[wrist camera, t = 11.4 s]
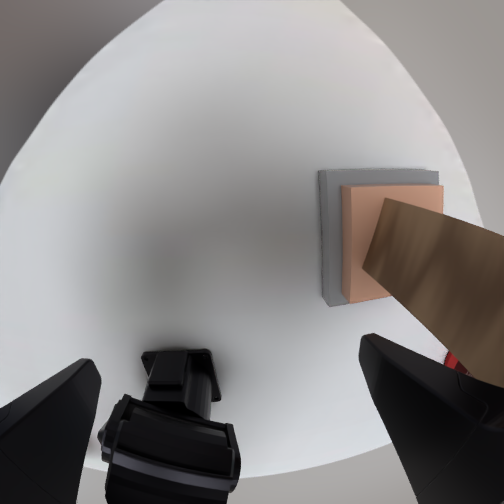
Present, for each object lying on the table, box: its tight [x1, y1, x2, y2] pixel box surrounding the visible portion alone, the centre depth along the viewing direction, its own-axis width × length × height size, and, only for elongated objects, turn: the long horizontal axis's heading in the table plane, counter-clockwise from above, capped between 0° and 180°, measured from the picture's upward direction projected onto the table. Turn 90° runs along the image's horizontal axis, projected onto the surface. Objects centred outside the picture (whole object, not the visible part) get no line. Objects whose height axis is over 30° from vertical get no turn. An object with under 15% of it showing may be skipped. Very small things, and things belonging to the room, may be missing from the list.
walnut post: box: [362, 197, 504, 388], centre depth 11 cm, size 5×5×13 cm
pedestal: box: [318, 169, 444, 307], centre depth 19 cm, size 10×10×4 cm
